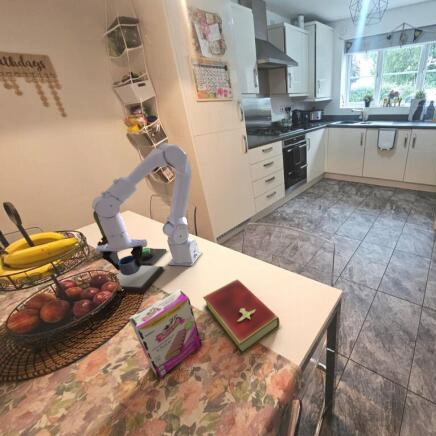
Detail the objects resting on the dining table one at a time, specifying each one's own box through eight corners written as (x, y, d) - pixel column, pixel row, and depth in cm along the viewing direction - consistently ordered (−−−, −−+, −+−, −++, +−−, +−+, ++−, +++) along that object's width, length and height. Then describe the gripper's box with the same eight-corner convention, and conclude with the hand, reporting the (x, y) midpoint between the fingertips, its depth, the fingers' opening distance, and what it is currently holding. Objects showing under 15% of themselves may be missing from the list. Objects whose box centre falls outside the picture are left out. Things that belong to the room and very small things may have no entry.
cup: (143, 264, 87) (139, 253, 85) (138, 274, 82) (133, 263, 80) (125, 267, 86) (120, 256, 84) (119, 277, 81) (114, 266, 79)
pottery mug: (125, 252, 103) (107, 241, 98) (109, 261, 105) (90, 250, 100) (135, 232, 112) (119, 221, 107) (120, 241, 114) (104, 230, 109)
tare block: (166, 251, 102) (164, 245, 101) (152, 266, 93) (149, 260, 92) (144, 251, 103) (142, 245, 102) (128, 265, 94) (125, 259, 93)
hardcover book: (240, 287, 81) (238, 277, 79) (279, 326, 66) (278, 315, 64) (205, 306, 74) (202, 296, 72) (241, 354, 59) (239, 343, 57)
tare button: (152, 250, 98) (150, 247, 97) (147, 255, 95) (146, 251, 95) (145, 250, 98) (143, 247, 98) (140, 254, 96) (139, 251, 95)
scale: (164, 270, 91) (162, 265, 90) (143, 293, 80) (141, 287, 79) (129, 269, 92) (127, 263, 91) (104, 291, 81) (101, 286, 80)
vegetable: (103, 243, 109) (84, 202, 101) (111, 238, 113) (95, 198, 104) (110, 245, 108) (92, 203, 99) (119, 240, 112) (102, 199, 103)
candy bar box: (159, 381, 54) (136, 330, 47) (150, 367, 57) (126, 317, 50) (203, 345, 62) (189, 296, 55) (193, 334, 65) (178, 287, 58)
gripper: (144, 223, 82) (156, 256, 88) (96, 229, 79) (111, 263, 85) (138, 233, 76) (150, 268, 82) (85, 240, 73) (102, 276, 79)
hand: (130, 266), depth 83 cm, fingers closed on cup, 6 cm apart
